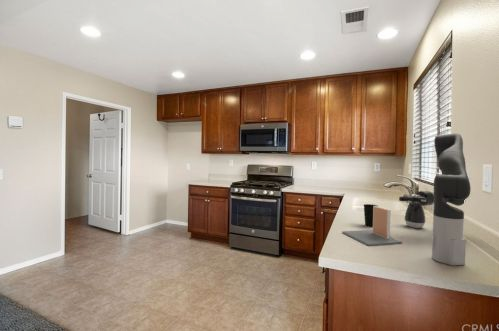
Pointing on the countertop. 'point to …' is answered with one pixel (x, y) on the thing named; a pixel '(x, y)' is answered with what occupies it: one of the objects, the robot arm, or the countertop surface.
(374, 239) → the mat
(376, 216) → the tile
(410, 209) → the pump dispenser
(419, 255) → the countertop surface
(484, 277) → the countertop surface
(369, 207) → the cup
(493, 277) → the countertop surface
